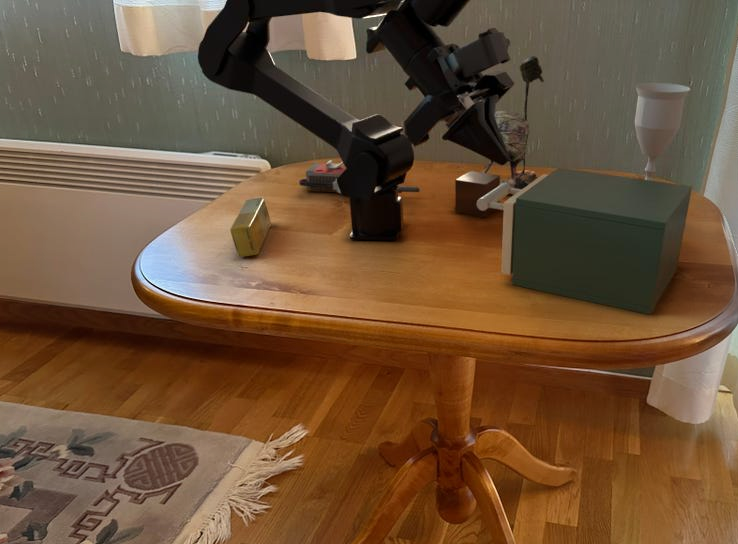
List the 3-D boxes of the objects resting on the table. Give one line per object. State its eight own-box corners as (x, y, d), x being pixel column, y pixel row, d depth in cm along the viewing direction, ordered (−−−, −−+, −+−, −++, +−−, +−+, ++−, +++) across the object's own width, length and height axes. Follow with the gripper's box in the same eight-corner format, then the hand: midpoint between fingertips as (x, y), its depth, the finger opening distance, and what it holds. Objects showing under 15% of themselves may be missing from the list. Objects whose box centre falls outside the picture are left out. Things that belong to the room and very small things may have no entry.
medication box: (253, 226, 97) (245, 199, 95) (272, 224, 97) (264, 196, 95) (237, 258, 87) (228, 228, 85) (258, 255, 87) (250, 225, 85)
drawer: (466, 265, 83) (466, 196, 78) (506, 232, 92) (509, 168, 88) (627, 300, 75) (638, 224, 71) (654, 260, 85) (665, 191, 80)
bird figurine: (481, 180, 116) (483, 53, 105) (547, 181, 115) (556, 53, 105) (479, 195, 109) (481, 60, 98) (550, 196, 108) (559, 61, 98)
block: (485, 217, 100) (485, 184, 97) (455, 212, 102) (455, 179, 99) (499, 207, 104) (500, 175, 101) (470, 202, 106) (470, 170, 103)
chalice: (614, 218, 100) (631, 89, 90) (623, 204, 105) (639, 81, 96) (665, 225, 98) (687, 93, 88) (671, 210, 103) (693, 85, 93)
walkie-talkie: (295, 195, 108) (418, 200, 106) (291, 168, 106) (417, 172, 104) (312, 179, 116) (427, 183, 114) (309, 153, 113) (426, 157, 112)
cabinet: (511, 284, 81) (515, 198, 75) (552, 245, 91) (558, 167, 85) (650, 315, 74) (665, 222, 69) (676, 269, 85) (692, 186, 79)
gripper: (424, 10, 67) (522, 136, 69) (501, -2, 81) (581, 102, 83) (364, 87, 74) (454, 200, 76) (445, 64, 88) (519, 159, 90)
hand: (506, 162), depth 81 cm, fingers closed
